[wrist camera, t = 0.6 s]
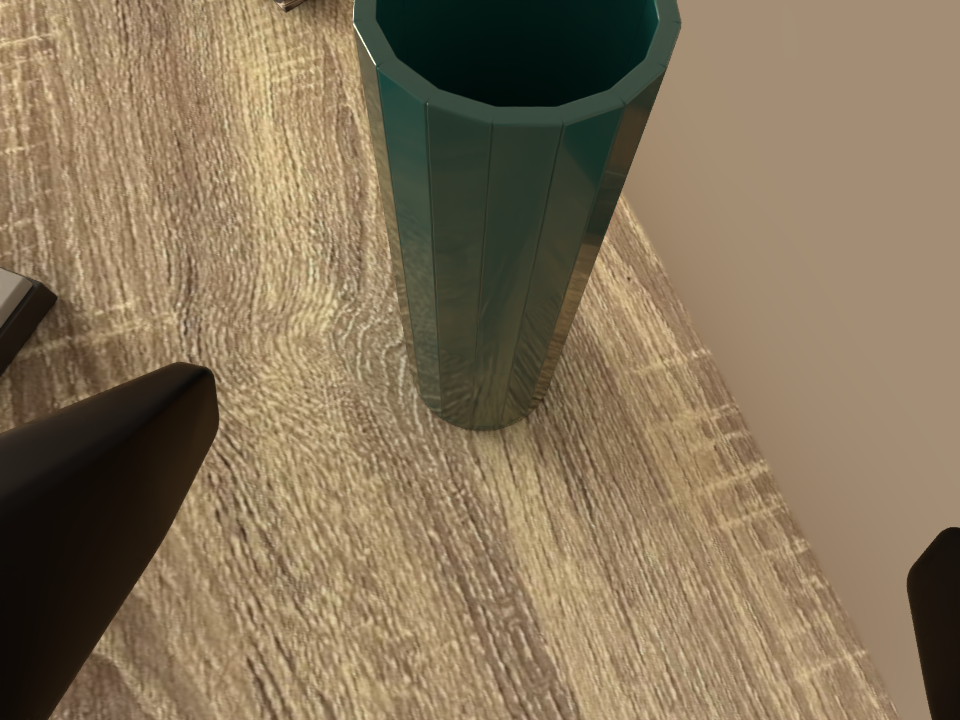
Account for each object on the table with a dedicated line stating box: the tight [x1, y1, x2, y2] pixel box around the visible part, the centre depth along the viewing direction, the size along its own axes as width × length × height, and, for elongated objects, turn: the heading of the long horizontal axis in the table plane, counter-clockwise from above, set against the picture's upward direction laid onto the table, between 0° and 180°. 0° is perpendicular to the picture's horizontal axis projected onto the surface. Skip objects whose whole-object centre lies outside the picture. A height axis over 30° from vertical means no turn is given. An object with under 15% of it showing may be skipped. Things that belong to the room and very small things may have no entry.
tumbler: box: [352, 0, 681, 431], centre depth 18 cm, size 6×6×16 cm
